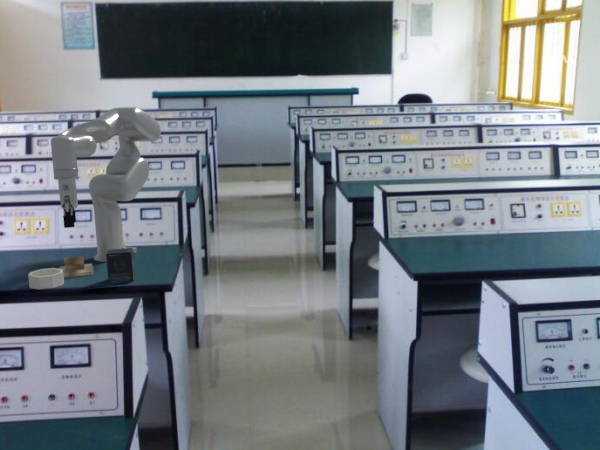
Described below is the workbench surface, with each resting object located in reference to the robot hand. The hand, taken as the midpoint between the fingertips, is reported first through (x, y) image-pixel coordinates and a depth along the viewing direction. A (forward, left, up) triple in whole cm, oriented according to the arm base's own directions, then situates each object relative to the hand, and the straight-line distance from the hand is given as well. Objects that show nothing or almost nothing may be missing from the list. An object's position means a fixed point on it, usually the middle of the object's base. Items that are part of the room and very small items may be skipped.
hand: (70, 224), depth 207 cm
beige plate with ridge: (0, 0, -17) cm, 17 cm away
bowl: (+8, +12, -17) cm, 22 cm away
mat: (0, 0, -17) cm, 17 cm away
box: (-15, +15, -18) cm, 28 cm away
